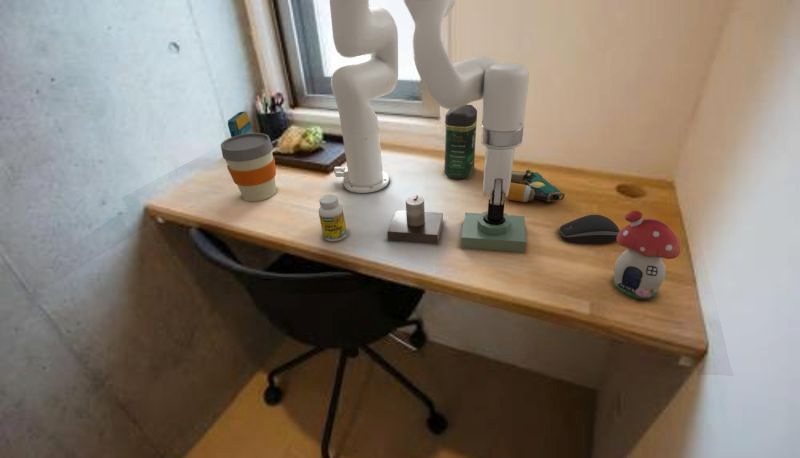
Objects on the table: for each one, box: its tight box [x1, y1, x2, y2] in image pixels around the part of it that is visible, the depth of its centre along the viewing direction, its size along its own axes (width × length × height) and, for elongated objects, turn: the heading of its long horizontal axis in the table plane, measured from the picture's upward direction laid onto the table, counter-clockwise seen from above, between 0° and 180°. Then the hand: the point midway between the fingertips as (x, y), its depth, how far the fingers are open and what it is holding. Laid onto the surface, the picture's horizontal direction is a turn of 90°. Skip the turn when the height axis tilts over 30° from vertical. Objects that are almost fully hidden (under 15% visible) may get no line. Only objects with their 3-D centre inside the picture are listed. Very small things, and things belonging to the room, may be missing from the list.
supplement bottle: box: [318, 193, 348, 242], centre depth 91 cm, size 5×5×10 cm
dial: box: [405, 194, 426, 226], centre depth 90 cm, size 4×4×6 cm
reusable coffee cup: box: [220, 132, 277, 202], centre depth 109 cm, size 13×13×15 cm
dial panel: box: [386, 209, 444, 245], centre depth 93 cm, size 11×9×2 cm
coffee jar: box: [444, 104, 478, 180], centre depth 112 cm, size 10×8×19 cm
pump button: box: [485, 214, 504, 225], centre depth 88 cm, size 4×4×2 cm
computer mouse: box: [558, 214, 621, 245], centre depth 87 cm, size 7×12×4 cm, turn 88°
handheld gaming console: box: [227, 111, 255, 138], centre depth 127 cm, size 10×4×15 cm, turn 174°
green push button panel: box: [460, 210, 527, 253], centre depth 89 cm, size 13×10×4 cm
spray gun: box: [505, 168, 565, 203], centre depth 105 cm, size 4×17×15 cm
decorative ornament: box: [613, 210, 681, 301], centre depth 70 cm, size 9×6×15 cm
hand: (495, 217), depth 87 cm, fingers closed
